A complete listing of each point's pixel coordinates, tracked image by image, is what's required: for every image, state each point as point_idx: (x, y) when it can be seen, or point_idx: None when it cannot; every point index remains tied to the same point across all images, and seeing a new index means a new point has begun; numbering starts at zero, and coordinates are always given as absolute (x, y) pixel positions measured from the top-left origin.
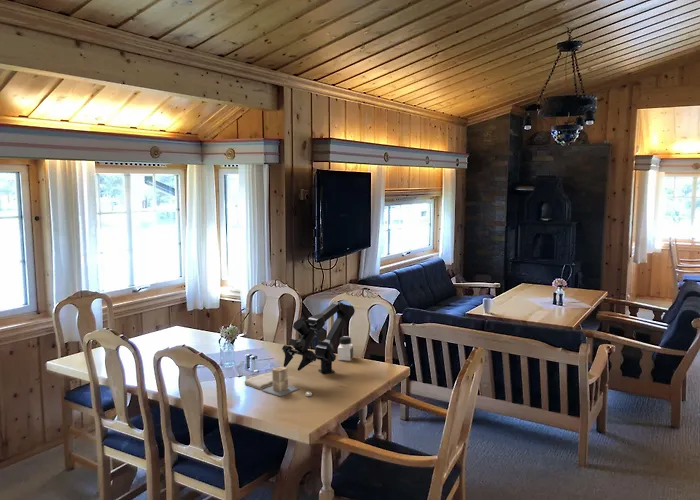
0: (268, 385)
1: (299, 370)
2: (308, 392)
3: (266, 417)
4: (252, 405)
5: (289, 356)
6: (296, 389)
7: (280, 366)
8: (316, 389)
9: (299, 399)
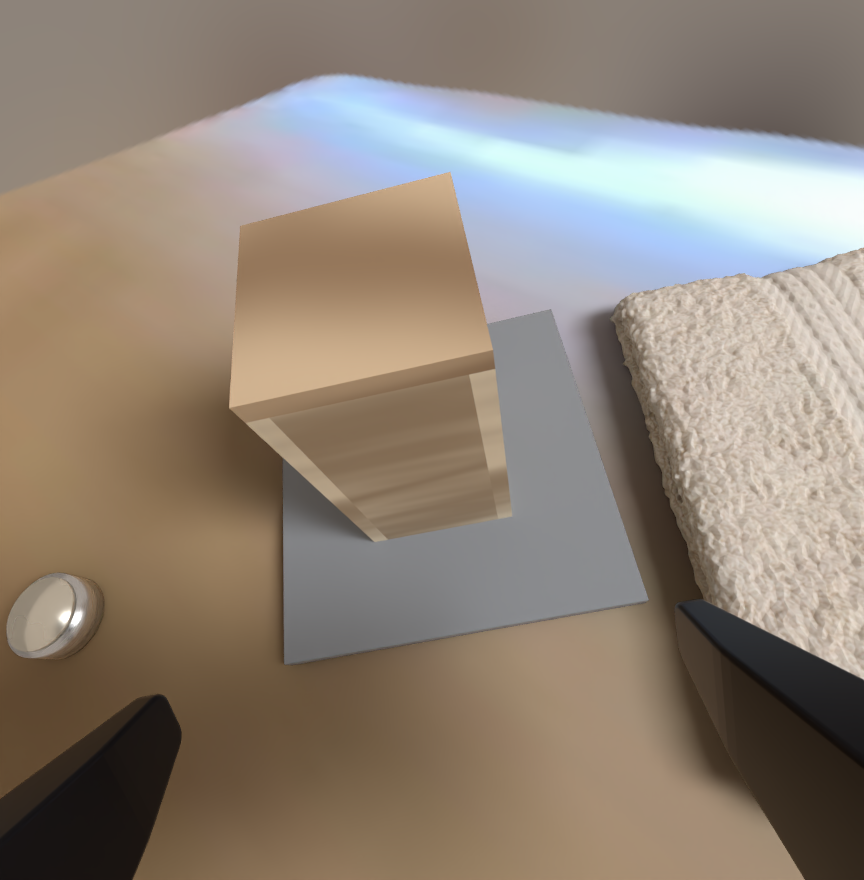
0: (653, 422)
1: (152, 753)
2: (42, 616)
3: (112, 175)
4: (327, 168)
5: None
6: (286, 616)
7: (469, 351)
8: None
9: (95, 479)
